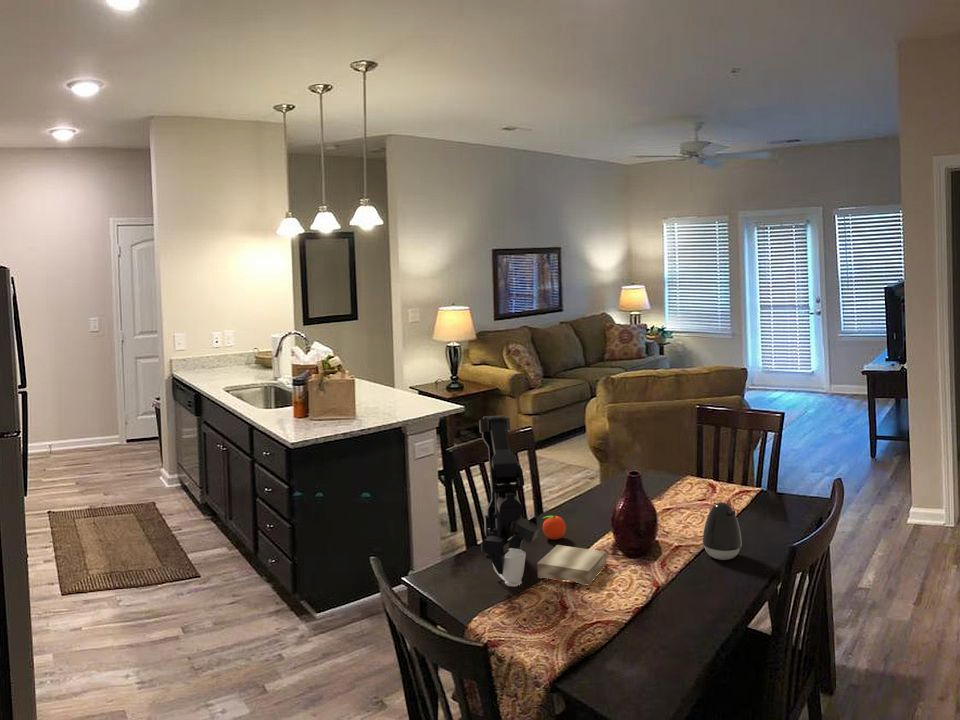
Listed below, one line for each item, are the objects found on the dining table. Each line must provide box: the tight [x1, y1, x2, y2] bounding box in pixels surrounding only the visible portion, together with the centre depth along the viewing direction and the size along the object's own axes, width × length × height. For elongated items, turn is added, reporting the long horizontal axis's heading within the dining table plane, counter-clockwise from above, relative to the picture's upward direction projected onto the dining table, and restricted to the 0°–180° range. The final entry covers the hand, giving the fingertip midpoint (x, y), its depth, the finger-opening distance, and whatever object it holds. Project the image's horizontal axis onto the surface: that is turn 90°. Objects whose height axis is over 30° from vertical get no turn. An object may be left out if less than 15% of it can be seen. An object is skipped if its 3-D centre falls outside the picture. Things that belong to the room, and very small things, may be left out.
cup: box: [492, 548, 527, 587], centre depth 205 cm, size 7×10×8 cm
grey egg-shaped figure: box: [702, 501, 743, 561], centre depth 216 cm, size 10×10×15 cm
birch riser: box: [536, 544, 607, 585], centre depth 210 cm, size 14×14×4 cm
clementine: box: [540, 515, 567, 540], centre depth 234 cm, size 8×7×7 cm
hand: (508, 567), depth 205 cm, fingers open, 9 cm apart
